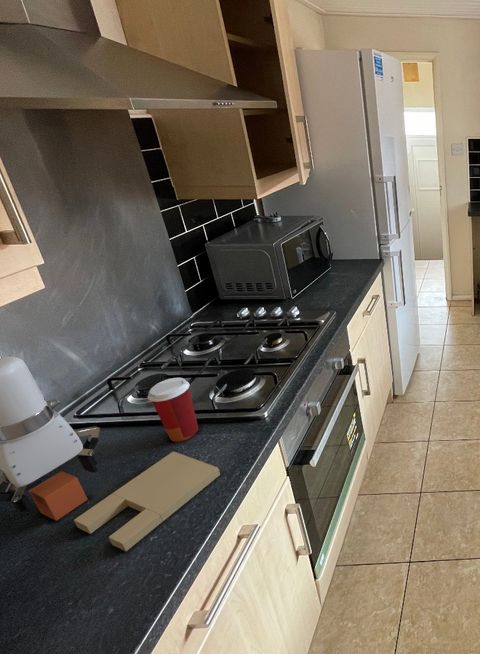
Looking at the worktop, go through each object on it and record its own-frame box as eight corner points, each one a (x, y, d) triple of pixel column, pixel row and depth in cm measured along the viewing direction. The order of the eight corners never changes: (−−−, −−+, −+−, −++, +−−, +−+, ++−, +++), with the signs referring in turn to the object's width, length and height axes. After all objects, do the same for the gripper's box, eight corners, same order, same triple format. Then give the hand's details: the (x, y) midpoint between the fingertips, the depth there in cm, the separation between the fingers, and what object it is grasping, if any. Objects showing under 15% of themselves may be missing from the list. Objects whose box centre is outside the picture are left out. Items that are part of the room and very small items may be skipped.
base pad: (126, 551, 75) (122, 544, 74) (77, 527, 79) (73, 520, 78) (220, 474, 90) (218, 467, 90) (175, 457, 95) (173, 451, 94)
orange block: (56, 521, 80) (43, 498, 78) (40, 513, 82) (28, 490, 79) (88, 499, 84) (77, 477, 82) (72, 492, 86) (61, 470, 84)
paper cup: (203, 418, 107) (188, 372, 102) (204, 435, 101) (188, 388, 96) (164, 431, 103) (146, 384, 97) (163, 450, 97) (144, 401, 92)
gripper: (68, 388, 84) (101, 452, 91) (-62, 451, 69) (-11, 522, 76) (92, 396, 82) (124, 460, 88) (-38, 463, 67) (12, 535, 73)
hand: (61, 489), depth 82 cm, fingers open, 9 cm apart
